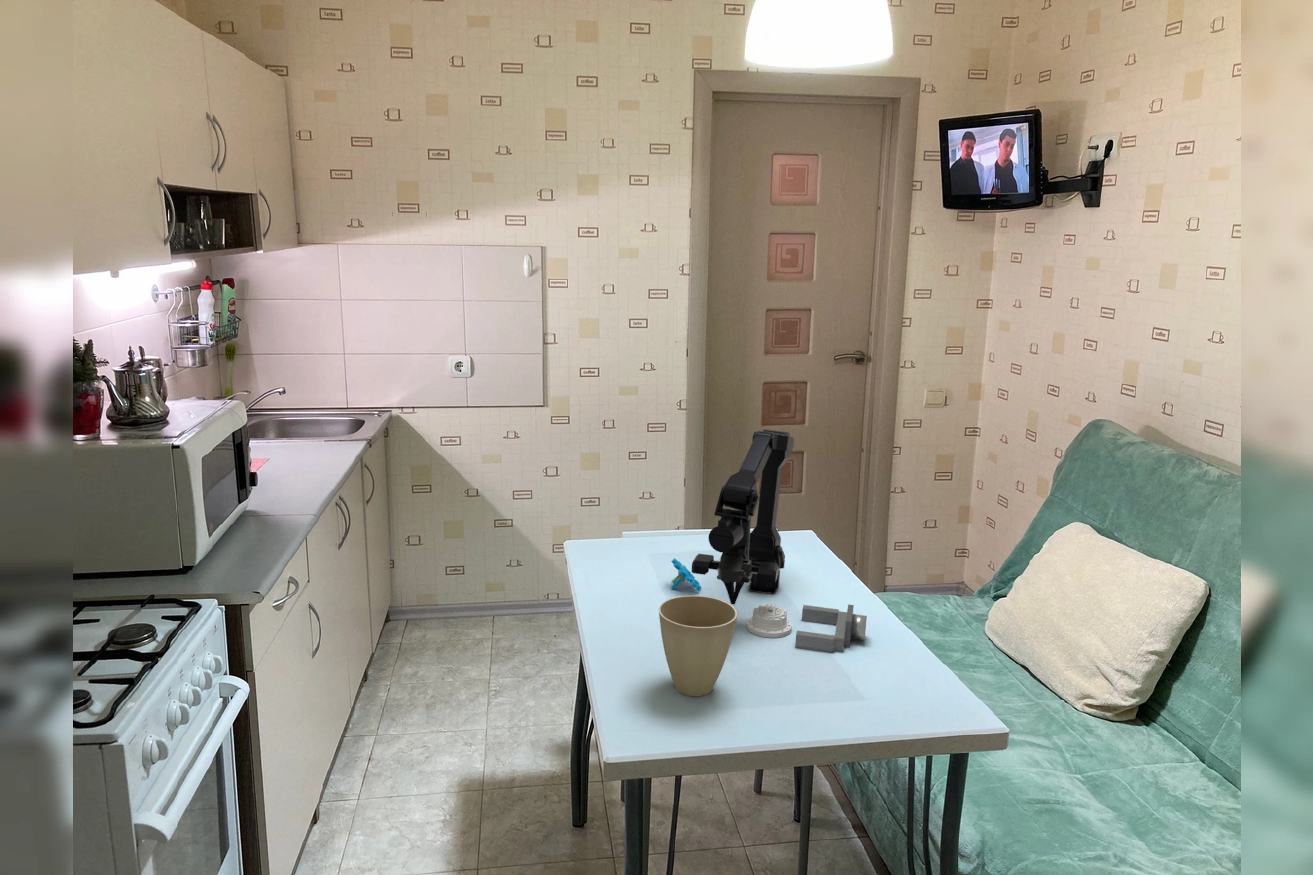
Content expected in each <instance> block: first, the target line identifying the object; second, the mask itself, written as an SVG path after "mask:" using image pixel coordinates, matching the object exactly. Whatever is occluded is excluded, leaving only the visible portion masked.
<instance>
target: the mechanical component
mask: <svg viewBox="0 0 1313 875" xmlns="http://www.w3.org/2000/svg"><path fill="white" fill-rule="evenodd" d="M752 612H753V613H752V615H751V616H749V617H748V618H747V620H746V629H747V631H749V632H750V633H751V634H753V635H756V636H758V637H763V638H770V639H777V638H783V637H786V636H788V635H790V634H791V632H792V630H793V629H792V628H793V624H792V623H791V621H790V619H788V613H787V610H785V609H784V607H779V606H777V605H773V604H766V605H761V604H760V605H758V606H757V607H754V608H753V610H752Z"/></svg>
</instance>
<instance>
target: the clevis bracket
mask: <svg viewBox="0 0 1313 875" xmlns="http://www.w3.org/2000/svg"><path fill="white" fill-rule="evenodd" d="M801 610H802V612H801V621H803V622H810V623H817V624H825V625H832V626H835V633H834V635H833V634H826V633H817V632H813V631H812V632H811V631H803V630H796V632H795V646H794V648H796V649H803V650H810V651H816V652H817V651H818V652H823V653H824V652H825V653H826V652H827V653H834V652H841V653H843V652H844V648H850V646H851V639H854V640H862V641H865V639H866V627H867V620H868V619H867V617H868V616H867V615H864V614H855V613H854V604H847V611H840V609H838V608H830V607H824V606H823V607H822V606H814V605H809V604H803V605H802V609H801Z"/></svg>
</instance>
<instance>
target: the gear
mask: <svg viewBox="0 0 1313 875" xmlns="http://www.w3.org/2000/svg"><path fill="white" fill-rule="evenodd" d="M670 562H671V563H672V564H673V565H672V566H673V567H674V568H675V569H676V570H677V572H678V573H677V574H678V575H677V576H675V577H674V578H673V580H672V582H673V584H672V585H670V588H671V589H672V590H675V589H676V588H677V587H678V586H679V585H680V584H681V583H682V582H683V583H684V582H687V583H690V586H691V587H692V588H693V589H696V591H698V592H699V591H700V590H701V589H702V586H701V584H700V582H699V581H698V580H697V579H695V576H694V575H693V573H692V571H690V570H689V569H688V568H687V567H686V566H685V564H682V563H681V561H678V559H676V558H673V559H672V560H671V561H670Z"/></svg>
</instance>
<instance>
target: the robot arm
mask: <svg viewBox="0 0 1313 875" xmlns="http://www.w3.org/2000/svg"><path fill="white" fill-rule="evenodd" d="M751 441H752V442H751V444H750V445H749V446H750V447H749V448H748V450H747V453H746V454H745V457H744V460H743V461H742V462H741V466H739V467H740V468H739V469H738V472H736V473H734V474H732V475H730V476H729V477H728V479H727V480H726V482H725V484H724V485H723V486H721V489H720V492H719V496H718V500H717V504H716V507H715V509H714V516H718V517H720V519H719V520H718V521H717V525H716V526H715V527H713V528H712V529H711V530H710V531H709V534H708V537H707V538H708V542H709V545H710V547H711V548H712V549H713V550H714V551H716V552H718V553H721V556H720V559H719V560H714V559H715V557H714V555H712V554H705V553H698V554H697V555H695V557H694V559H693V560H692V563H691V574H695V575H706V574H708V573H709V572H710V570H717V575H716V579H717V580H719V581H721V582H722V583H723V584H724V586H725V588H726V592H727V595H728V598H729V601H730V605H732V606H733V605H736V603H737V601H738V598H739V594H740V592H741V590H742V588H743V586H744V585H745V584H749V583H750V584H749V586H748V591H750V592H758V593H764V594H770V595H771V594H772V595H775V594H776V593H777V592H776V591H777V590H778V589H779V587H780V577H781V570H782V569H785V563H786V560H785V559H786V555H785V553H784V550H783V549H784V548H783V547H782V546H781V544H782V543H781V542H782V540H781V535H780V534H779V530H778V529H777V527H776V526H777V525H776V524H777V516H778V507H779V497H780V491H781V490H780V489H781V478H782V472H783V471H782V470H783V467H784V465H785V464H786V463H787V462H788V460H789V459H790V458H791V452H792V451H793V449H794V444H795V442H794V437H793V436H791V434H790V432H789V431H784V430H783V431H781V430H776V429H775V430H774V429H768V428H767V429H765V428H764V429H763V430H757V431H754V433H753V435H752V440H751ZM760 479H761V481H760V487H759V488H760V490H759V489H758V482H759V480H760ZM724 507H725V508H724ZM756 510H757V516H756V525H755V527H754V528H753V529H752V531H751V525H752V517H754V516H755V513H756Z"/></svg>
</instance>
